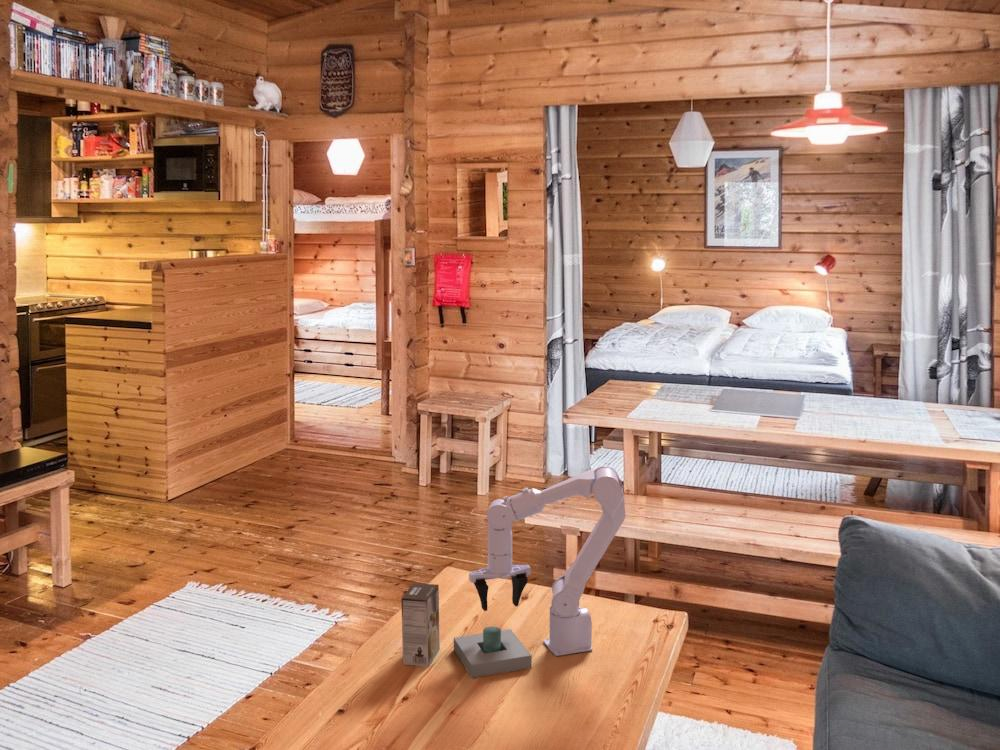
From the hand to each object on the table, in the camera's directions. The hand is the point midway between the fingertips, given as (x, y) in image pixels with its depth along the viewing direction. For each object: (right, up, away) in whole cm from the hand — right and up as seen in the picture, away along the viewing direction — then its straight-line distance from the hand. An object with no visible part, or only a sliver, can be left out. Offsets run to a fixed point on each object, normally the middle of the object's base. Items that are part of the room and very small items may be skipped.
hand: (499, 607), depth 214 cm
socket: (-2, -10, -5) cm, 12 cm away
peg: (-2, -11, -6) cm, 12 cm away
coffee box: (-18, -11, -4) cm, 21 cm away
